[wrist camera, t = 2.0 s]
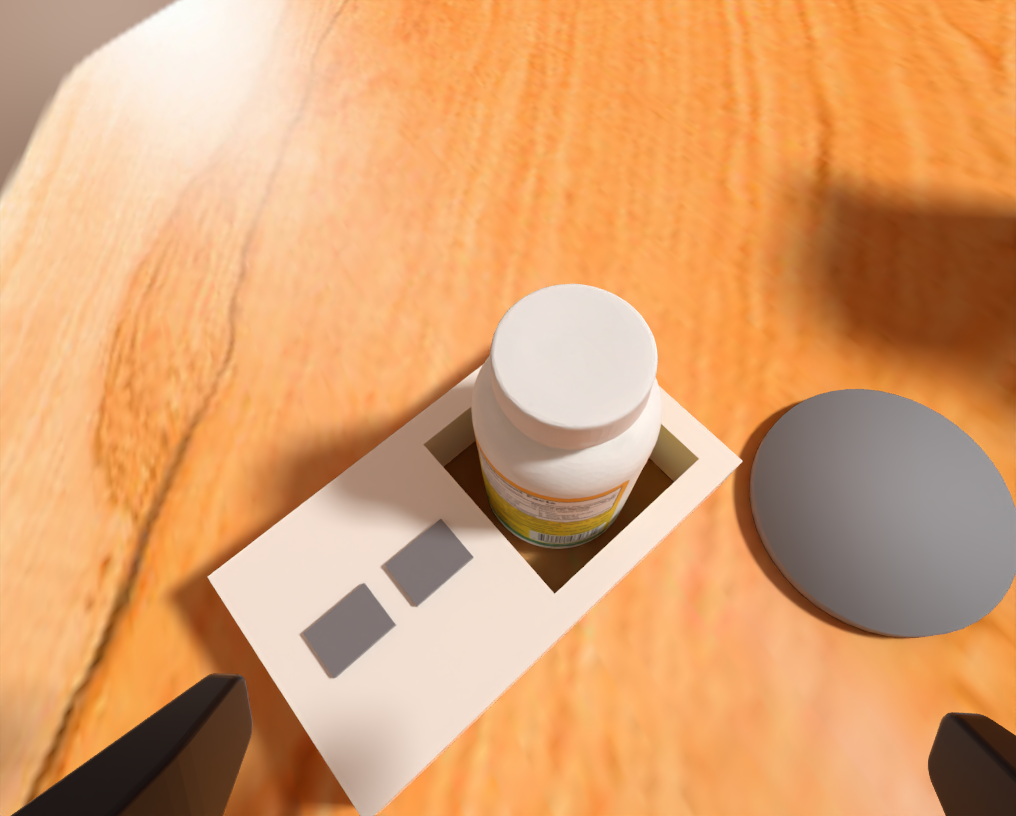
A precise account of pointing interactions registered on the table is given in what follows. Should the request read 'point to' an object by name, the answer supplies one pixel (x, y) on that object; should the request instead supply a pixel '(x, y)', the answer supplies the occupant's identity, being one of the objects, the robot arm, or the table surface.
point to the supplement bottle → (566, 413)
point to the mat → (884, 514)
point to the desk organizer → (425, 594)
